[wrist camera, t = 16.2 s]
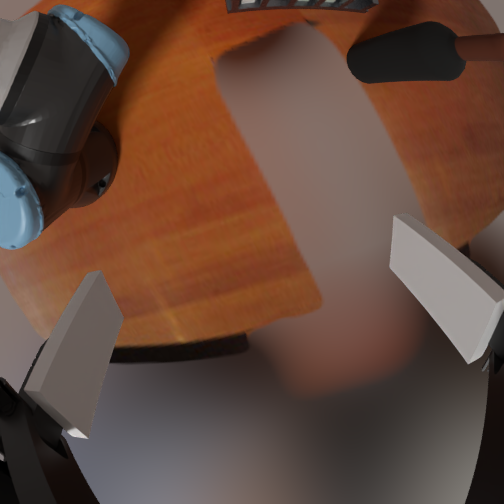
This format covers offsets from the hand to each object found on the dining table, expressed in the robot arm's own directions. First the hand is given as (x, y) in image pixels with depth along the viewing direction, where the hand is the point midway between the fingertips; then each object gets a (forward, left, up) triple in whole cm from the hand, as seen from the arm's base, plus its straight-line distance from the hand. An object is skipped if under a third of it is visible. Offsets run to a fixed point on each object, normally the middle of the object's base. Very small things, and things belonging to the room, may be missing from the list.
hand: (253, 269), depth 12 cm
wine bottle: (+25, +13, -35) cm, 45 cm away
